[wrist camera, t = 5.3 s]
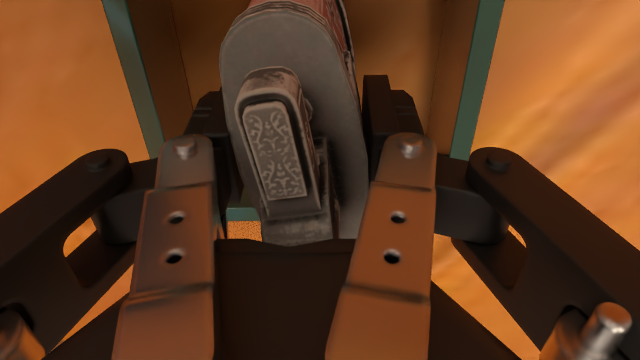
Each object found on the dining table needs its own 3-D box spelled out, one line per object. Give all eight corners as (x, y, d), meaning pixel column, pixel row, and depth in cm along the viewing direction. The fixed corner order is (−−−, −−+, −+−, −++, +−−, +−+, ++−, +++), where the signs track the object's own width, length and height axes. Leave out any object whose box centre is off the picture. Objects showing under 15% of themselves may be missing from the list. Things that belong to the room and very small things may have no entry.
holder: (117, -130, 15) (62, -122, 12) (490, -139, 15) (535, -133, 12) (191, 169, 23) (169, 222, 20) (436, 166, 22) (455, 220, 19)
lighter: (364, 134, 20) (389, 335, 12) (290, 144, 20) (266, 345, 12) (338, -69, 15) (352, 43, 7) (240, -50, 15) (148, 77, 7)
